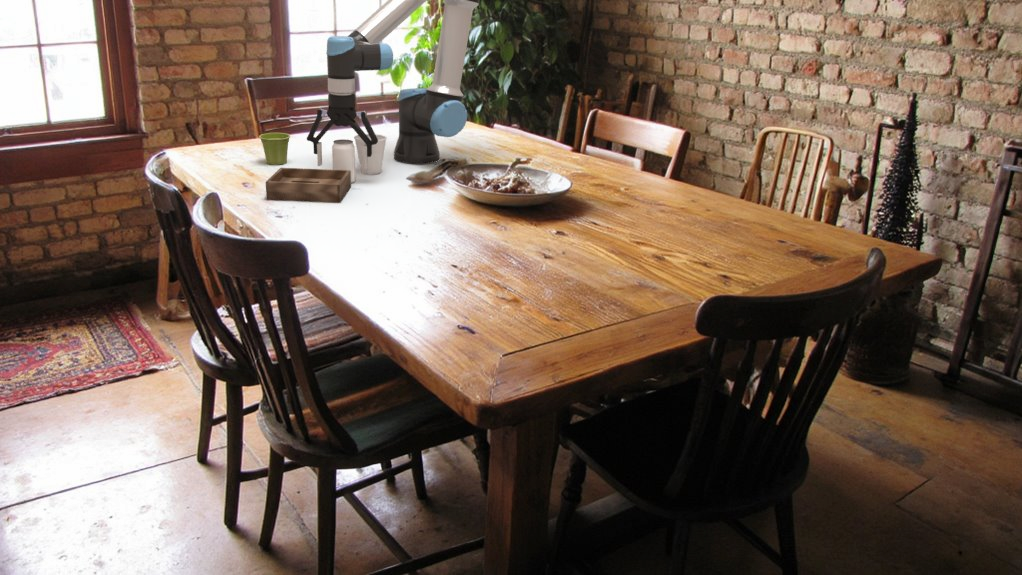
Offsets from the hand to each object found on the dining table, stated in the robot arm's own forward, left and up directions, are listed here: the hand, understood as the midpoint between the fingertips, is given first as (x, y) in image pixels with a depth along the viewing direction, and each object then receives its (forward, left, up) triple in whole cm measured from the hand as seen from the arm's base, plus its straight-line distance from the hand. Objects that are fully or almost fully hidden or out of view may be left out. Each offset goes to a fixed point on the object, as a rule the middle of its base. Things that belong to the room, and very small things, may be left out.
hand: (343, 166), depth 248 cm
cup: (-6, -12, -5) cm, 15 cm away
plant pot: (+25, -19, -5) cm, 32 cm away
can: (0, 0, -5) cm, 5 cm away
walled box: (+7, +14, -5) cm, 16 cm away
